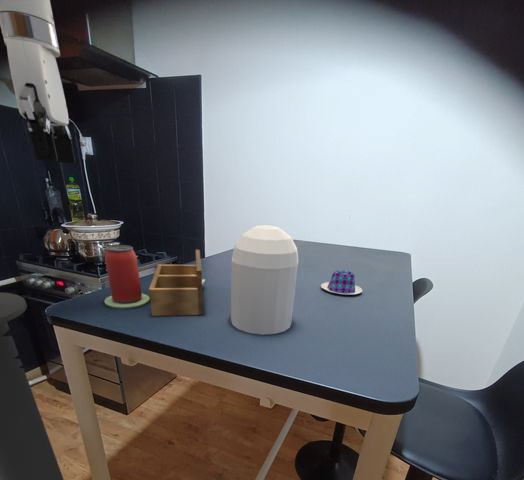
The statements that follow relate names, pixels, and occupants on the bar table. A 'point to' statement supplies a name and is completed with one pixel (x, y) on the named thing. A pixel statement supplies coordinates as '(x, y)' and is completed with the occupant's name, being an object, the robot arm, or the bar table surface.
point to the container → (263, 280)
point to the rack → (177, 289)
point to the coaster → (117, 305)
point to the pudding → (342, 283)
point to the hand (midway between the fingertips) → (57, 161)
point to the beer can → (123, 273)
